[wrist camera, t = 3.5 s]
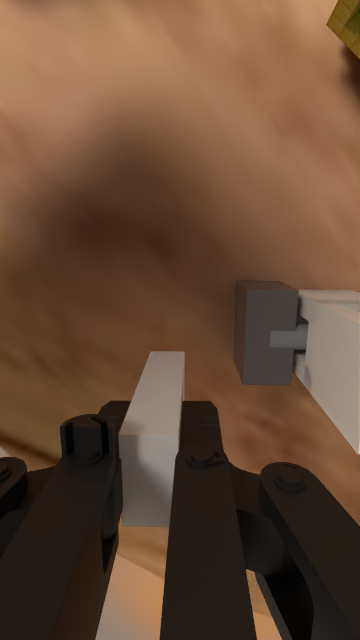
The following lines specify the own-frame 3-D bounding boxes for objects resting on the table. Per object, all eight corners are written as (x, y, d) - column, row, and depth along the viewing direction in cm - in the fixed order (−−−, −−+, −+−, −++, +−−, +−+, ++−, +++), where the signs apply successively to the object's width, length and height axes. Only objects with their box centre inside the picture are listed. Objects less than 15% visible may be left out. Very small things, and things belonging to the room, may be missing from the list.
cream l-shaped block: (285, 361, 24) (357, 454, 14) (290, 289, 23) (375, 330, 12) (341, 361, 24) (458, 456, 13) (350, 289, 23) (486, 331, 12)
